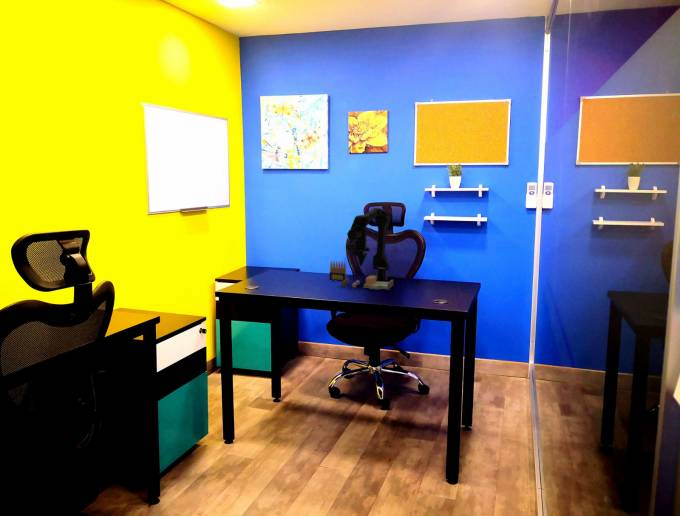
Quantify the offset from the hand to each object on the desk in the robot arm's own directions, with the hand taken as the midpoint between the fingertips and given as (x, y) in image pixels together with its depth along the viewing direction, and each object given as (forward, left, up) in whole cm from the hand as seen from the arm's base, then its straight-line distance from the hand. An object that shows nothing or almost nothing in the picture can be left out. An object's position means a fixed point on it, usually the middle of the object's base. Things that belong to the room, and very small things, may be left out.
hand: (360, 265), depth 308 cm
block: (0, +6, -10) cm, 11 cm away
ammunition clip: (-11, -17, -12) cm, 23 cm away
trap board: (0, +4, -12) cm, 12 cm away
